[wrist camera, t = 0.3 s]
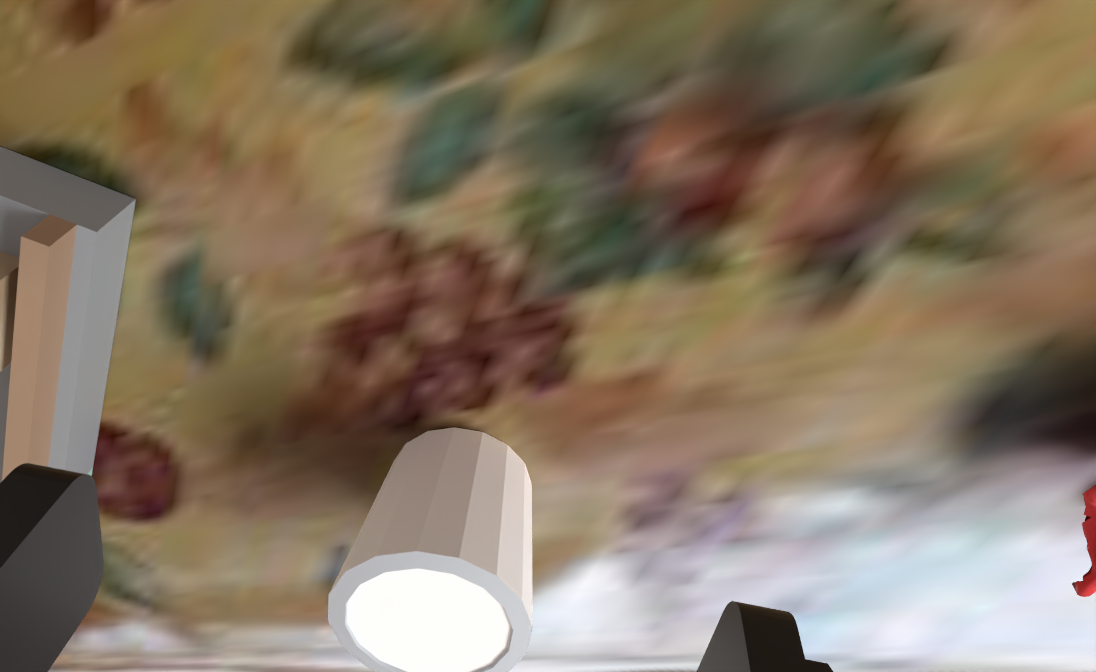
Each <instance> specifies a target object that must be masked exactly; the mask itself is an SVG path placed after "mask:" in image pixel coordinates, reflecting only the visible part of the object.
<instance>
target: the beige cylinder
mask: <svg viewBox="0 0 1096 672" xmlns="http://www.w3.org/2000/svg"><path fill="white" fill-rule="evenodd" d="M328 622H329V624H330V625H331V627H332V629H333V631H334V633H335V634H336V636H337V638H338V640H339V642H340V643H341V645H342V647H343V648H345V649H346V650H347V651H348V652H349V653H351V654H352V655H353V656H354V657H356V658H357V659H358V660H359V661H361V662H362V663H363V664H364V665H366V666H367V667H368V668H370V669H372V670H374V671H377V672H508V671H509V670H510V669H511V668H512V667H513V666H514V665H515V664H516V663H517V662H518V661H519V660H520V659H521V658H522V657H523V656H524V655H525V654H526V653H527V650H528V645H529V641H530V636H531V632H532V483H531V480H530V477H529V474H528V471H527V468H526V465H525V463H524V462H523V461H522V460H521V458H520V457H519V456H518V455H517V454H516V453H515V452H514V451H513V450H512V449H511V448H510V447H509V446H508V445H507V444H505V443H503V442H501V441H499V440H497V439H496V438H494V437H492V436H490V435H488V434H486V433H484V432H480V431H474V430H468V429H462V428H456V427H453V428H446V429H439V430H433V431H427V432H425V433H423V434H422V435H420V436H418V437H416V438H414V439H413V440H411V441H409V442H407V443H406V444H405V445H404V447H403V448H402V450H401V451H400V453H399V454H398V456H397V457H396V458H395V460H394V461H393V464H392V466H391V468H390V470H389V472H388V474H387V476H386V478H385V480H384V482H383V484H382V486H381V488H380V490H379V492H378V494H377V496H376V499H375V501H374V503H373V505H372V507H371V509H370V511H369V513H368V515H367V517H366V519H365V521H364V523H363V525H362V527H361V529H360V531H359V534H358V536H357V538H356V540H355V542H354V544H353V546H352V548H351V550H350V552H349V554H348V556H347V558H346V560H345V562H344V564H343V566H342V568H341V571H340V573H339V575H338V577H337V579H336V581H335V583H334V585H333V587H332V589H331V591H330V593H329V605H328Z"/></svg>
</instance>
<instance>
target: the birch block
mask: <svg viewBox="0 0 1096 672" xmlns="http://www.w3.org/2000/svg"><path fill="white" fill-rule="evenodd" d="M18 270H19V258H18V257H15V256H13V255H10V254H7V253H5V252H2V251H0V372H1V371H2V370H3V369H4V368H5V367H6V366H7V365H8V364H10V363H11V359H12V346H13V333H14V320H15V308H16V295H17V282H18Z"/></svg>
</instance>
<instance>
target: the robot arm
mask: <svg viewBox="0 0 1096 672" xmlns="http://www.w3.org/2000/svg"><path fill="white" fill-rule="evenodd" d="M102 573H103V550H102V540H101V529H100V519H99V509H98V499H97V489H96V483H95V481H94V479H93V477H92V476H90V475H88V474H83V473H77V472H72V471H67V470H62V469H57V468H52V467H46V466H41V465H36V464H31V463H24V464H21V465H19V466H18V467H16V468H15V469H14V470H13V471H11V472H10V473H9V474H8V475H7V477H6V478H5V479H4V480H3V481H2V482H1V483H0V672H48V670H49V669H50V667H51V666H52V664H53V663H54V661H55V660H56V659H57V657H58V656H59V654H60V653H61V651H62V650H63V648H64V647H65V645H66V644H67V642H68V641H69V639H70V638H71V636H72V635H73V633H74V632H75V630H76V629H77V627H78V626H79V625H80V623H81V622H82V620H83V619H84V617H85V616H86V614H87V612H88V611H89V609H90V607H91V605H92V604H93V601H94V599H95V597H96V594H97V592H98V589H99V586H100V582H101V578H102ZM697 672H833V671H832V669H831V668H830V666H829V665H828V664H827V663H821V662H816V661H811V660H806V659H805V657H804V653H803V649H802V645H801V641H800V636H799V632H798V628H797V624H796V621H795V619H794V617H793V615H792V614H791V613H789V612H786V611H781V610H776V609H770V608H765V607H760V606H755V605H750V604H744V603H739V602H734V601H732V602H730V603H729V604H728V605H727V606H726V608H725V610H724V611H723V614H722V616H721V618H720V620H719V623H718V625H717V627H716V629H715V632H714V634H713V636H712V638H711V641H710V643H709V645H708V647H707V650H706V652H705V654H704V656H703V659H702V661H701V663H700V665H699V668H698V670H697Z"/></svg>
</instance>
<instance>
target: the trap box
mask: <svg viewBox="0 0 1096 672" xmlns="http://www.w3.org/2000/svg"><path fill="white" fill-rule="evenodd" d="M135 201H136V199H134V198H132V197H129V196H127V195H124V194H121V193H119V192H116V191H114V190H111V189H109V188H106V187H103V186H101V185H98V184H96V183H93V182H91V181H88V180H85V179H83V178H80V177H78V176H75V175H73V174H70V173H67V172H65V171H62V170H60V169H57V168H55V167H52V166H49V165H47V164H44V163H42V162H39V161H37V160H34V159H31V158H29V157H26V156H24V155H21V154H19V153H16V152H13V151H11V150H8V149H6V148H3V147H1V146H0V251H2V252H5V253H7V254H10V255H13V256H15V257H18V258H19V270H18V282H17V295H16V308H15V320H14V333H13V346H12V359H11V363H10V364H8V365H7V366H6V367H5V368H4V369H3V370H2V371H1V372H0V483H1V482H2V481H3V480H4V479H5V478H6V477H7V475H8V474H9V473H10V472H11V471H13V470H14V469H15V468H16V467H18V466H19V465H21V464H24V463H31V464H36V465H41V466H46V467H52V468H57V469H62V470H67V471H72V472H77V473H83V474H88V475H90V476H92V470H93V464H94V457H95V451H96V445H97V439H98V432H99V426H100V420H101V414H102V407H103V401H104V395H105V389H106V382H107V376H108V370H109V364H110V357H111V351H112V345H113V339H114V332H115V326H116V320H117V314H118V307H119V301H120V295H121V289H122V283H123V276H124V270H125V264H126V258H127V251H128V245H129V239H130V233H131V226H132V220H133V214H134V208H135Z"/></svg>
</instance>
